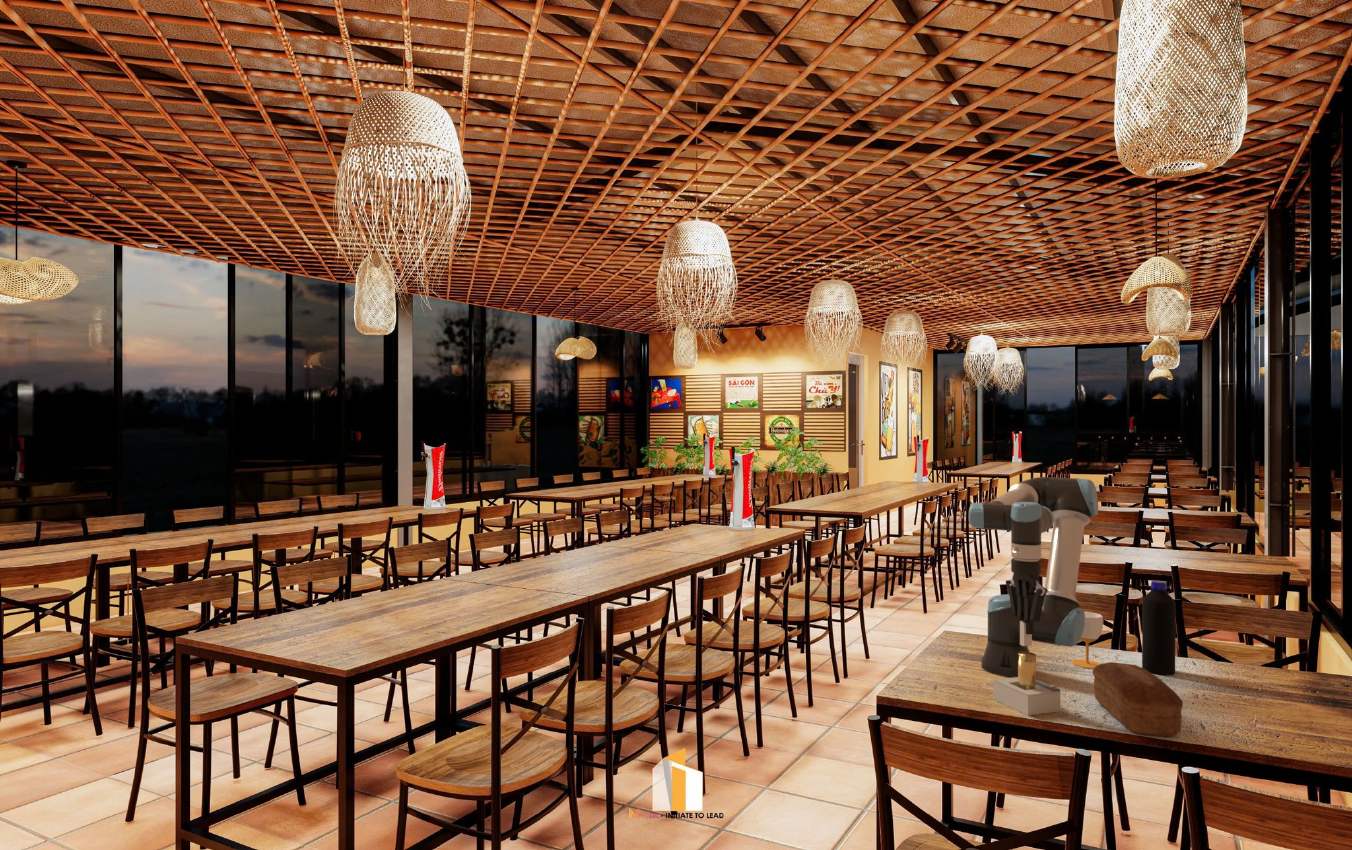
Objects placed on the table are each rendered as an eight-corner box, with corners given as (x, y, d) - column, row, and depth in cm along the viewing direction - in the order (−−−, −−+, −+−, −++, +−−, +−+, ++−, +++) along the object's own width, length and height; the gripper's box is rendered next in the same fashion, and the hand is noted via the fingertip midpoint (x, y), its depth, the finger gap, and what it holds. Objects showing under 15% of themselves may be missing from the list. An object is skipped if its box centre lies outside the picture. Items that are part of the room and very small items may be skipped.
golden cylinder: (1026, 701, 213) (1027, 651, 213) (1039, 707, 209) (1039, 655, 209) (1014, 703, 212) (1014, 652, 211) (1026, 709, 207) (1026, 657, 207)
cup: (1109, 669, 244) (1109, 618, 244) (1080, 668, 244) (1080, 617, 244) (1093, 660, 253) (1094, 611, 253) (1066, 660, 253) (1066, 611, 253)
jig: (1024, 695, 218) (1024, 672, 218) (1060, 711, 206) (1060, 687, 206) (993, 699, 215) (993, 676, 215) (1027, 715, 203) (1028, 691, 203)
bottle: (1180, 676, 237) (1180, 585, 237) (1148, 674, 239) (1149, 583, 239) (1168, 668, 245) (1168, 579, 246) (1137, 666, 247) (1138, 578, 247)
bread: (1140, 701, 215) (1140, 657, 215) (1190, 742, 187) (1190, 691, 187) (1086, 698, 217) (1086, 654, 217) (1128, 737, 189) (1128, 687, 189)
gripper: (997, 555, 216) (997, 640, 216) (1033, 564, 204) (1033, 653, 204) (1019, 554, 219) (1019, 637, 219) (1055, 562, 206) (1055, 650, 207)
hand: (1025, 645), depth 211 cm, fingers closed
